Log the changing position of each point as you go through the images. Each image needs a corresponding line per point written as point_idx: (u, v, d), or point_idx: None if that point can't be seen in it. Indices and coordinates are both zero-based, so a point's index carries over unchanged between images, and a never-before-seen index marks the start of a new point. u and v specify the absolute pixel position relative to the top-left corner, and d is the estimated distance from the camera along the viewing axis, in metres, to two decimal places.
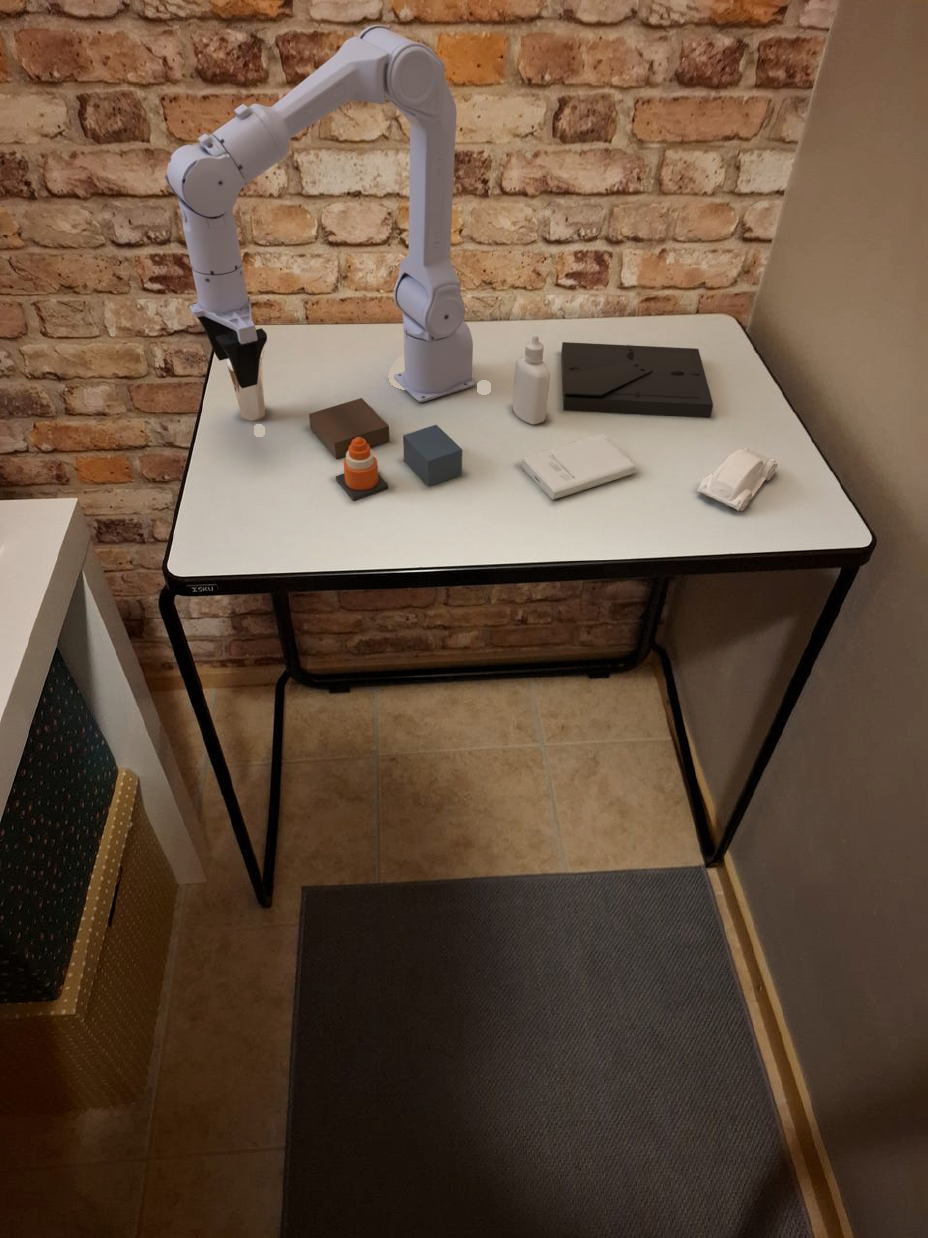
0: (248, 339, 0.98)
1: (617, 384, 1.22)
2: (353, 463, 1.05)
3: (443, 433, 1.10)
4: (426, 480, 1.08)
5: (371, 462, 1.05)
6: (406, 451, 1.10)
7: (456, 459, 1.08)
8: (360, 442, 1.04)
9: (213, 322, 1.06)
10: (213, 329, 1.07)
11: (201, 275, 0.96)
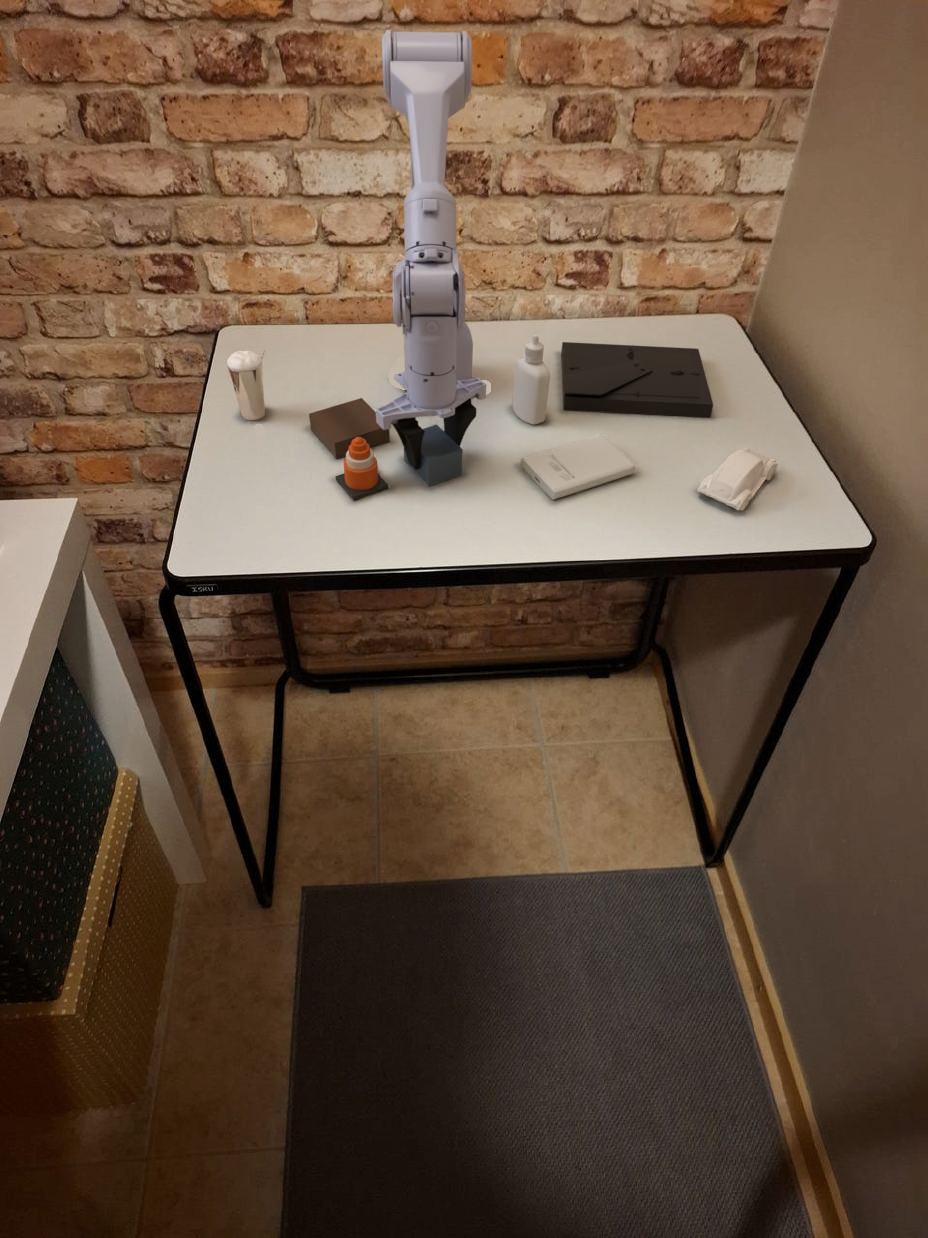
0: None
1: (617, 384, 1.22)
2: (353, 463, 1.05)
3: (443, 433, 1.10)
4: (426, 480, 1.08)
5: (371, 462, 1.05)
6: None
7: (456, 459, 1.08)
8: (360, 442, 1.04)
9: None
10: None
11: (453, 370, 1.00)
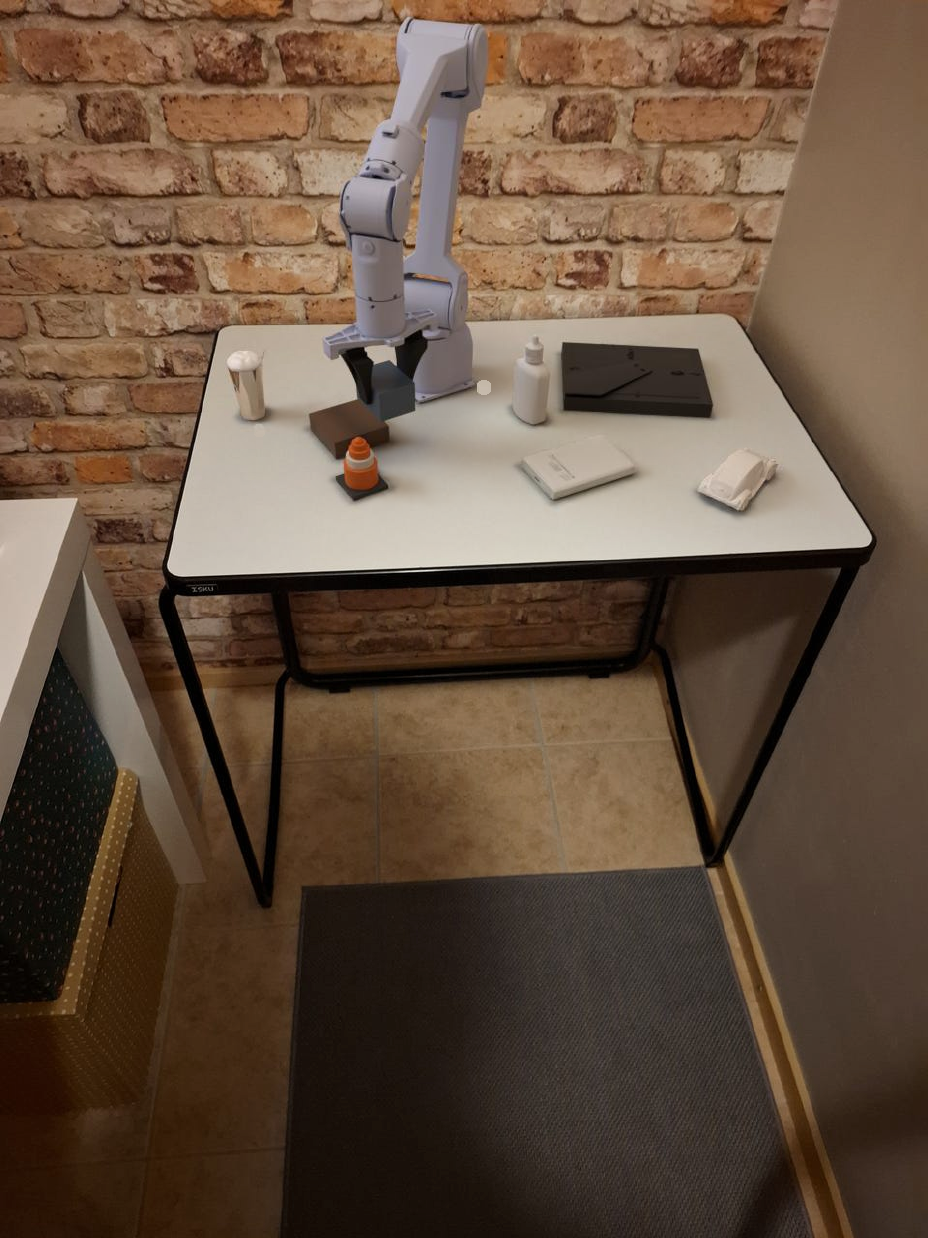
0: None
1: (617, 384, 1.22)
2: (353, 463, 1.05)
3: (396, 368, 1.07)
4: (378, 415, 1.06)
5: (371, 462, 1.05)
6: None
7: (409, 393, 1.06)
8: (360, 442, 1.04)
9: None
10: None
11: (401, 297, 0.97)
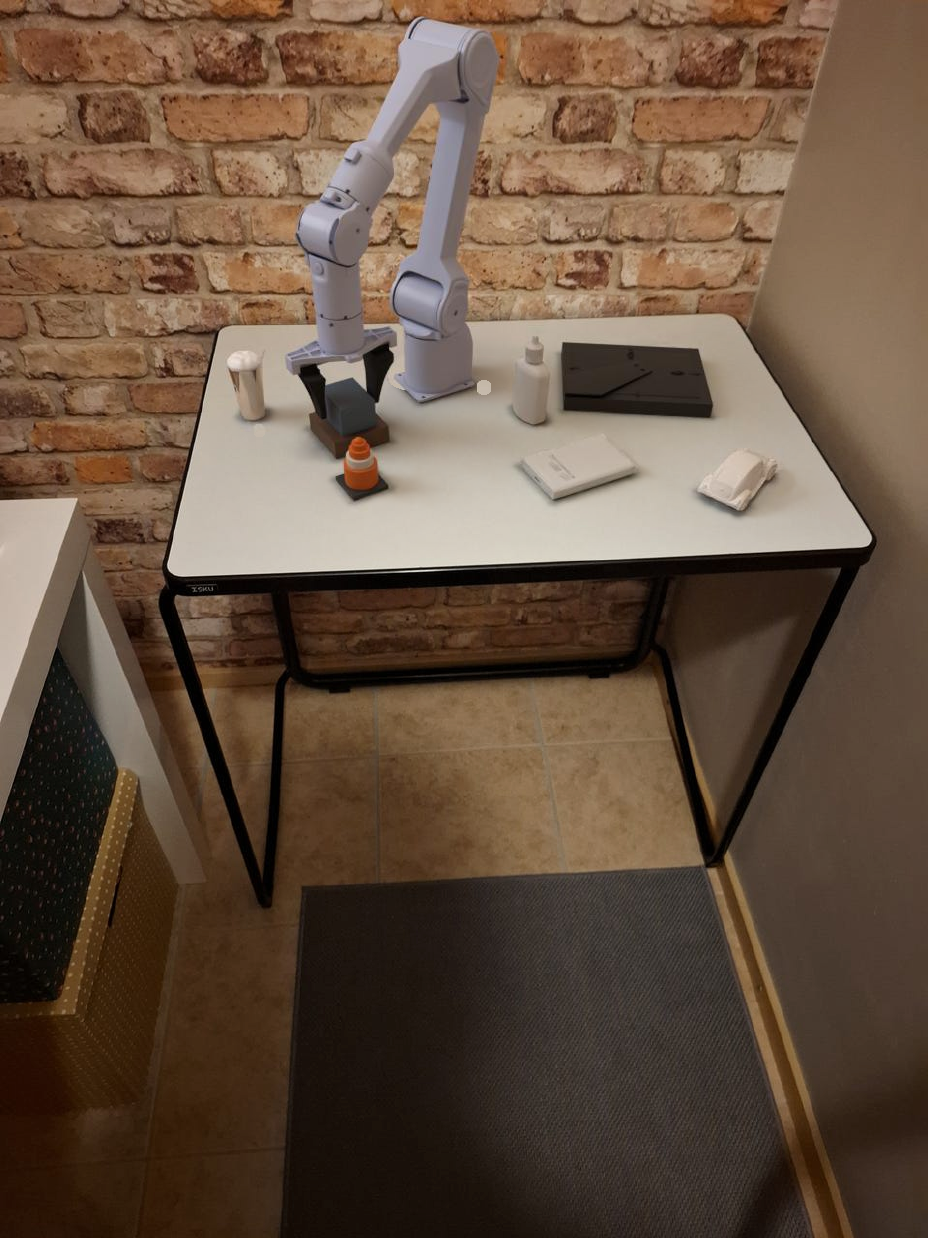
0: None
1: (617, 384, 1.22)
2: (353, 463, 1.05)
3: (358, 385, 1.13)
4: (340, 430, 1.11)
5: (371, 462, 1.05)
6: None
7: (369, 409, 1.11)
8: (360, 442, 1.04)
9: None
10: None
11: (359, 316, 1.03)
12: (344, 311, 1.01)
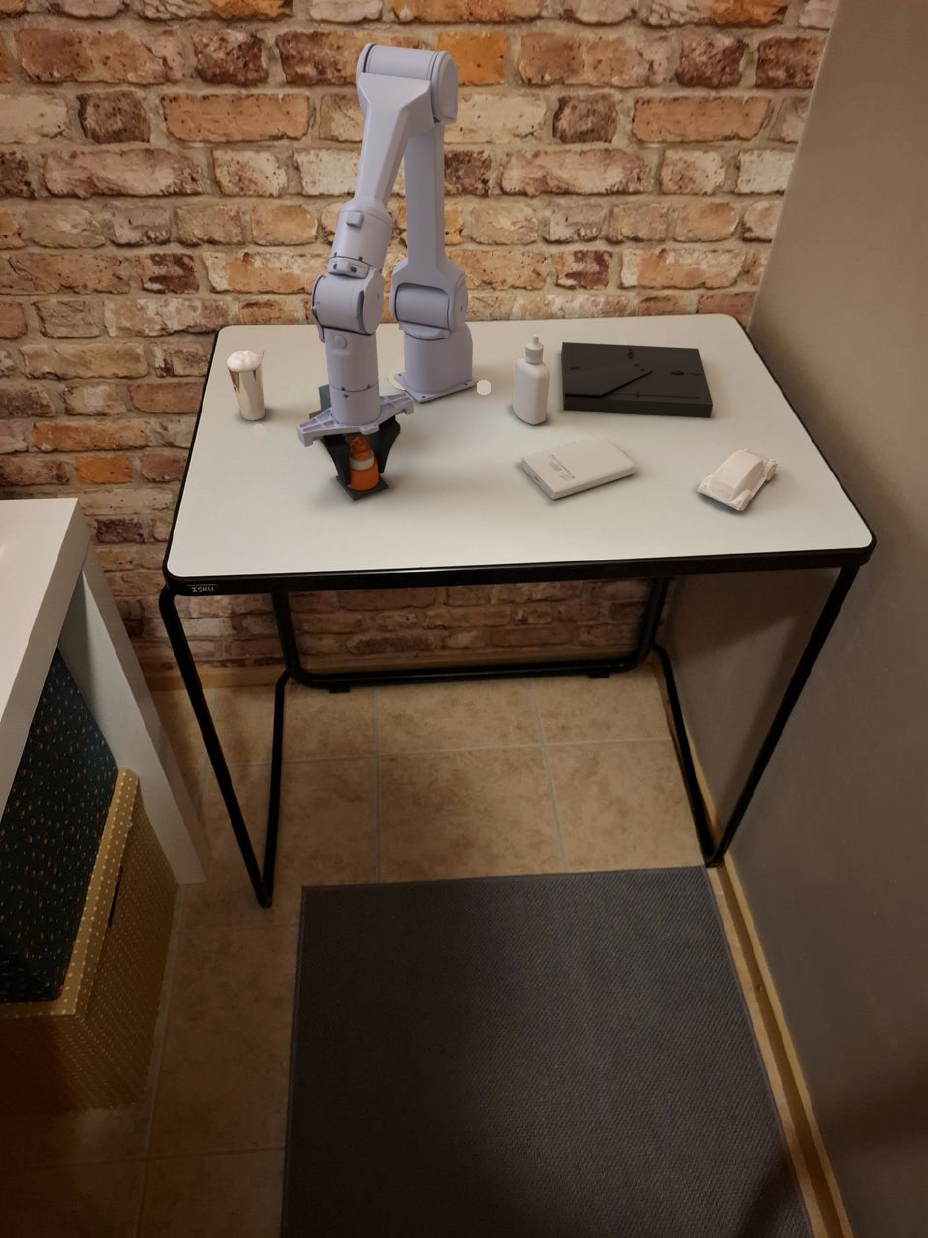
0: None
1: (617, 384, 1.22)
2: (353, 463, 1.05)
3: None
4: None
5: (371, 462, 1.05)
6: (323, 403, 1.13)
7: None
8: (360, 442, 1.04)
9: None
10: None
11: (375, 386, 0.97)
12: (367, 380, 0.96)
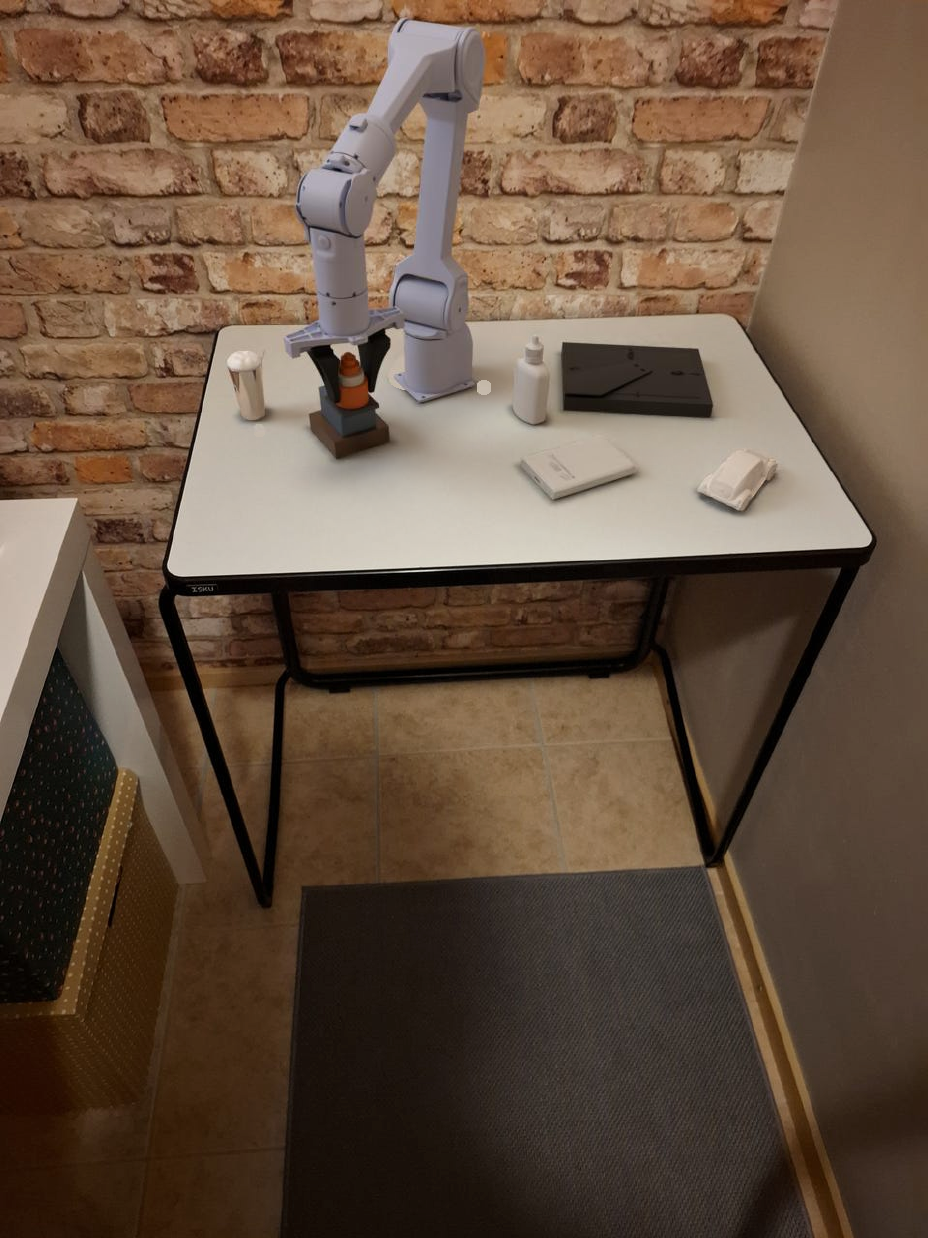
0: None
1: (617, 384, 1.22)
2: (342, 379, 1.02)
3: None
4: (340, 430, 1.11)
5: (361, 379, 1.03)
6: (323, 403, 1.13)
7: None
8: (349, 357, 1.01)
9: None
10: None
11: (363, 294, 0.95)
12: (353, 287, 0.93)
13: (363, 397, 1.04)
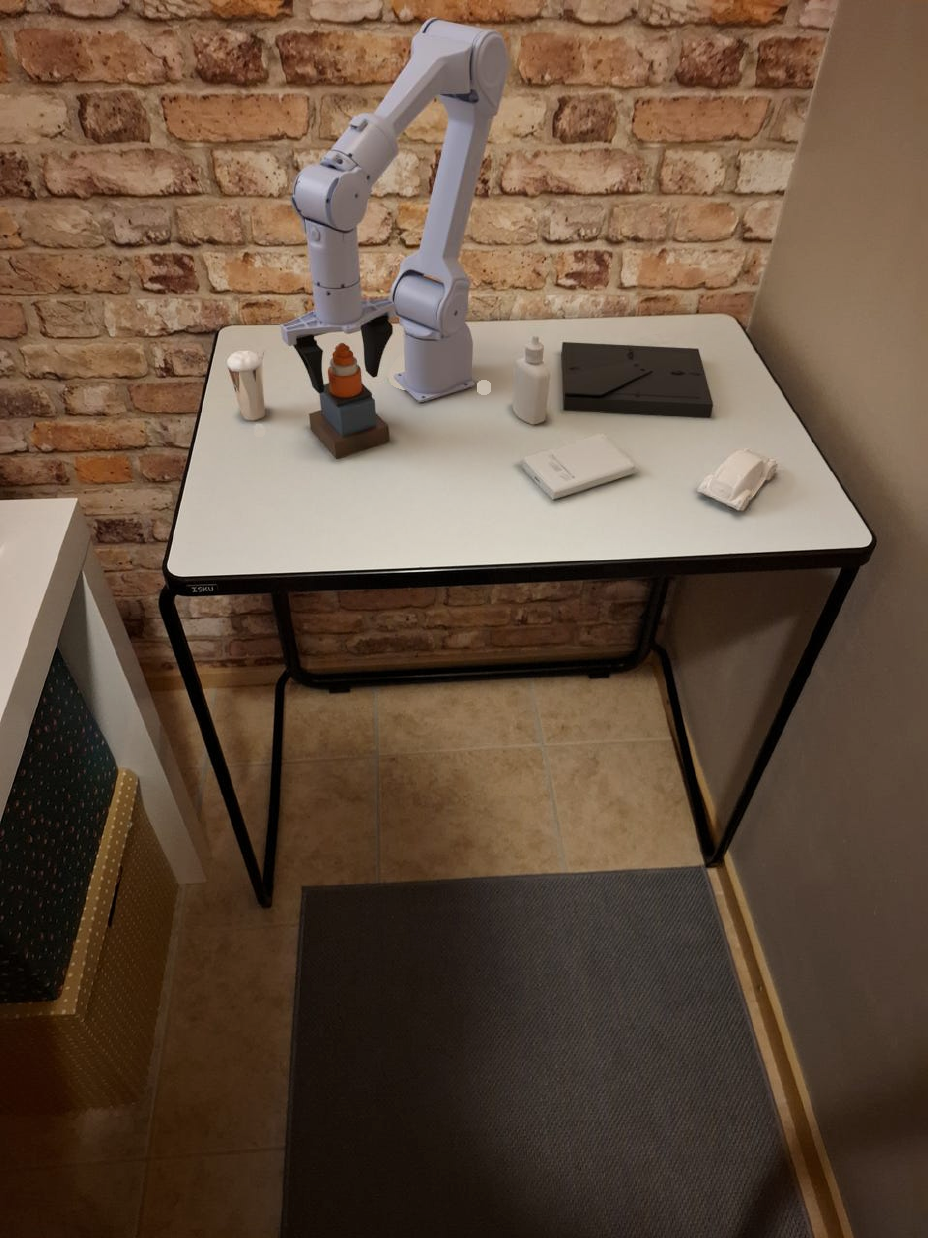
0: None
1: (617, 384, 1.22)
2: (337, 369, 1.07)
3: None
4: (340, 430, 1.11)
5: (354, 369, 1.08)
6: (322, 403, 1.13)
7: (369, 409, 1.11)
8: (343, 348, 1.06)
9: None
10: None
11: (356, 284, 1.00)
12: (341, 279, 0.98)
13: (356, 386, 1.09)
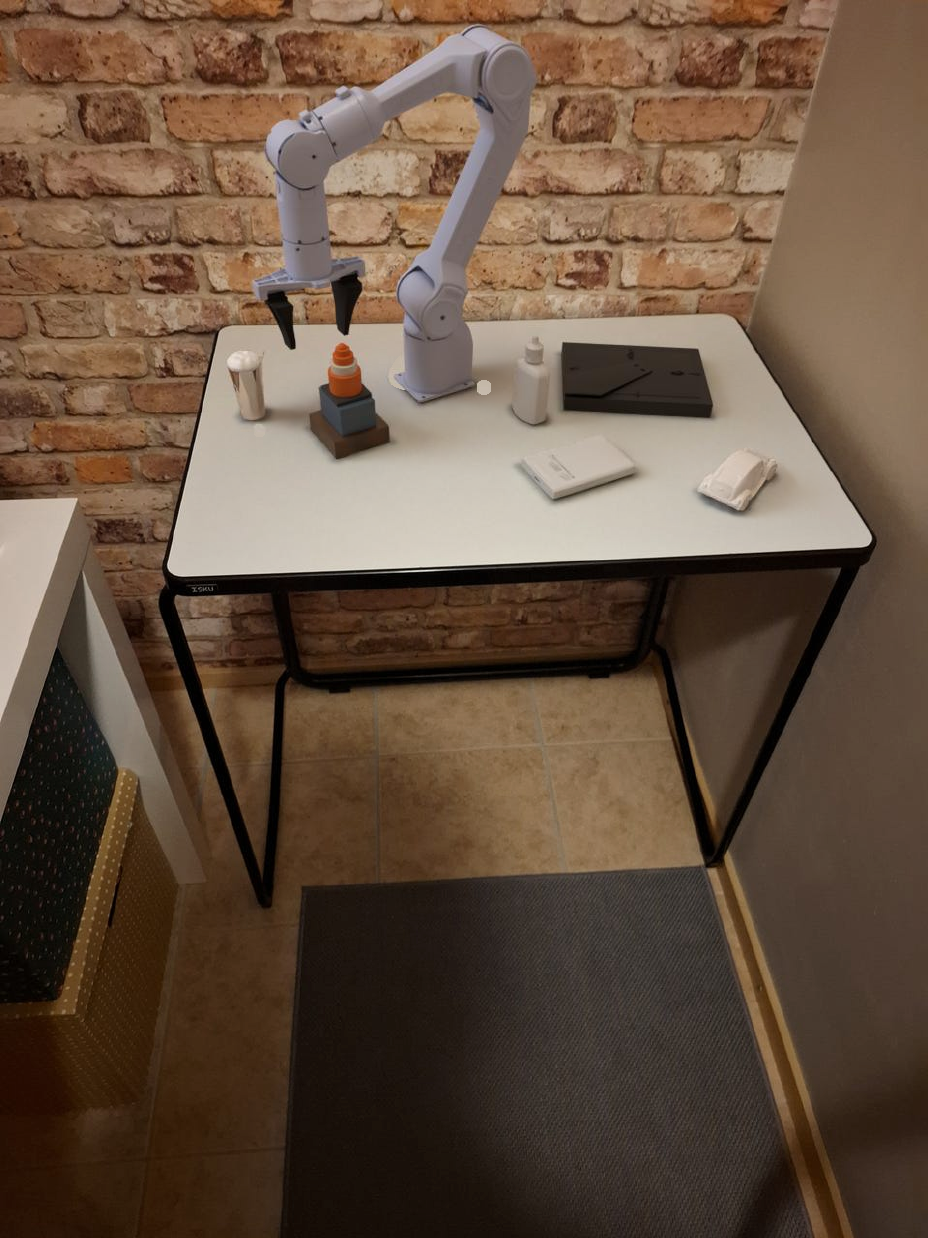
0: None
1: (617, 384, 1.22)
2: (337, 369, 1.07)
3: None
4: (340, 430, 1.11)
5: (354, 369, 1.08)
6: (322, 403, 1.13)
7: (369, 409, 1.11)
8: (343, 348, 1.06)
9: None
10: None
11: (325, 241, 1.03)
12: (298, 235, 1.01)
13: (356, 386, 1.09)
